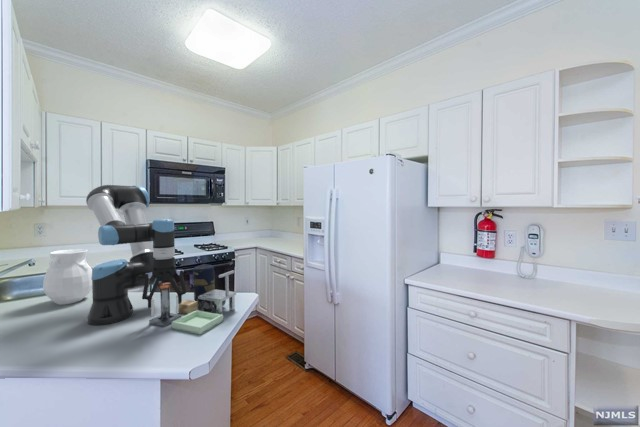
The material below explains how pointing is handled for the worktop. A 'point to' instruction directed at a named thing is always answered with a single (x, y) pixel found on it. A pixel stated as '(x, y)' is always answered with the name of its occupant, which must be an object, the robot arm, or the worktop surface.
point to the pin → (165, 300)
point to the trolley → (218, 297)
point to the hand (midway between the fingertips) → (165, 313)
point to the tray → (197, 322)
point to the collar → (163, 323)
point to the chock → (188, 306)
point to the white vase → (68, 276)
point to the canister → (203, 280)
